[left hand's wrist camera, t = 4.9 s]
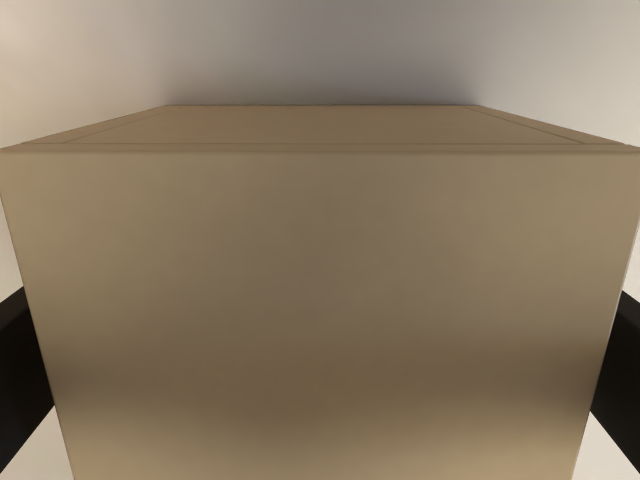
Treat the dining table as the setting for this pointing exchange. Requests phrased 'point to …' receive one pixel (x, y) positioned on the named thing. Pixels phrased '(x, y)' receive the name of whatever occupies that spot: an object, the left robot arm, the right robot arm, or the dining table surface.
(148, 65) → the dining table surface
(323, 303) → the tan cardboard box
